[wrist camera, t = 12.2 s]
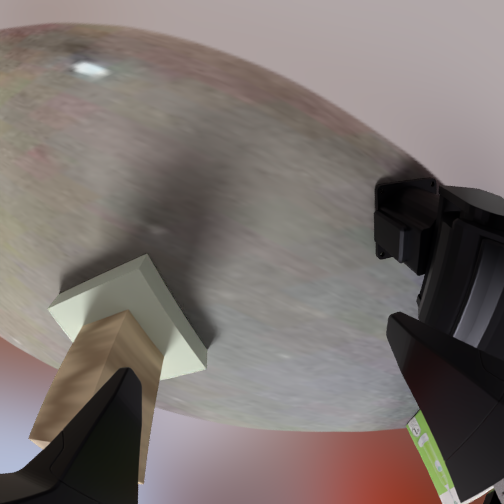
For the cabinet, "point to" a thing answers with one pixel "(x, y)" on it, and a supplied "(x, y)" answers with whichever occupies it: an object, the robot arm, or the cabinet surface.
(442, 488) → the toothbrush box
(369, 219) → the cabinet surface
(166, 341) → the base plate
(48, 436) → the pine block
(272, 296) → the cabinet surface
